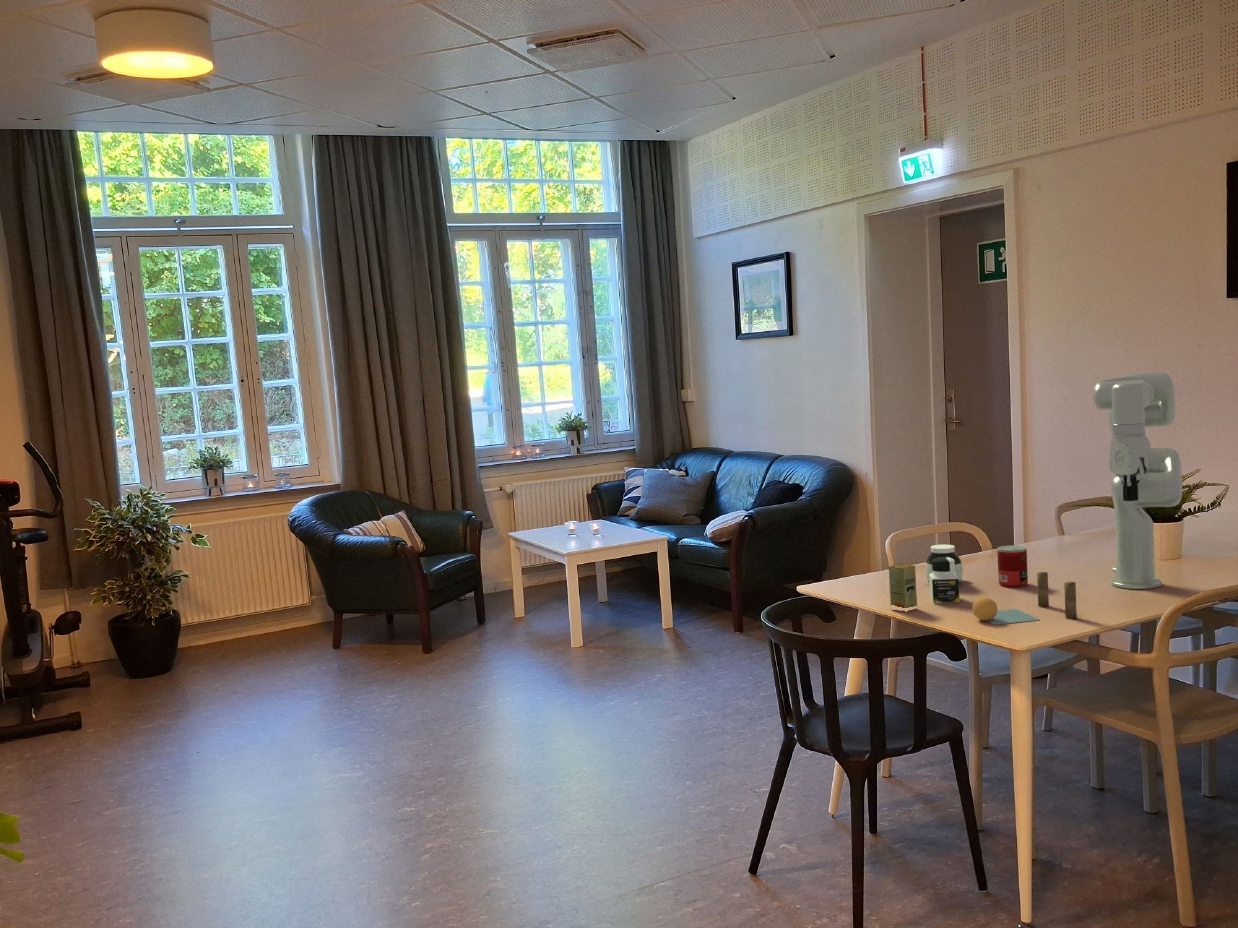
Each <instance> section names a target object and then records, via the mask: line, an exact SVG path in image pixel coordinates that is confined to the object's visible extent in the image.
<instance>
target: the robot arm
mask: <svg viewBox="0 0 1238 928" xmlns="http://www.w3.org/2000/svg"><path fill="white" fill-rule="evenodd" d="M1092 392H1093V393H1092V398H1093V403H1094V406H1095V408H1097V409H1098V410H1100V411H1108V413H1107V414H1108V416H1107V417H1108V424H1109V429H1110V432H1111V439H1110V448H1109V471H1110V472H1111V473H1113V474H1115V476H1114V477H1113V478H1112V480H1111V483H1110V491H1111V499H1112V503H1113V509H1114V519H1115V523H1114V524H1115V546H1116V547H1115V548H1116V549H1115V551H1116V566H1115V567H1112V569H1111V571H1112V572H1113V573H1115V577H1112V578H1111V580H1110V584H1111V585H1112V586H1113V587H1117V588H1122V589H1128V590H1147V589H1148V590H1149V589H1156V588H1159V587H1161V586H1162V580H1161V579H1159V578H1157V577H1156V570H1155V569H1156V566H1155V561H1156V560H1155V529H1154V528H1155V527H1154V521H1153V520H1152V517H1151V516H1150V515H1149V514H1148V513H1147V512H1146V511H1145V510H1144V509H1143V508H1151V507H1152V508H1171V507H1175V506H1177V505H1179V504H1180V502H1181V500H1182V497H1183V478H1182V475H1183V473H1182V461H1181V457H1180V454H1179V452H1178V451H1177V450H1176V449H1174V448H1170V447H1152V443H1151V440H1150V438H1148V437H1147V436H1146V428H1155V427H1159V428H1160V427H1161V428H1162V427H1167V426H1171V425H1172V424H1173V423H1174V421H1175V418H1176V401H1175V400H1176V399H1175V395H1176V394H1175V386H1174V382H1173V379H1172V378H1171V375H1170V374H1168V373H1167V372H1163V371H1162V372H1161V371H1159V372H1141V373H1130V374H1129V373H1128V374H1125V375H1124V376H1120V377H1116V378H1111V379H1104V380H1099V381H1097V382H1096V384H1095V386H1094V388H1093V391H1092Z"/></svg>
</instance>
